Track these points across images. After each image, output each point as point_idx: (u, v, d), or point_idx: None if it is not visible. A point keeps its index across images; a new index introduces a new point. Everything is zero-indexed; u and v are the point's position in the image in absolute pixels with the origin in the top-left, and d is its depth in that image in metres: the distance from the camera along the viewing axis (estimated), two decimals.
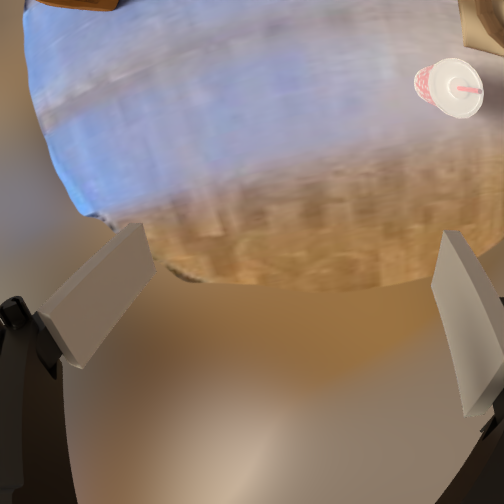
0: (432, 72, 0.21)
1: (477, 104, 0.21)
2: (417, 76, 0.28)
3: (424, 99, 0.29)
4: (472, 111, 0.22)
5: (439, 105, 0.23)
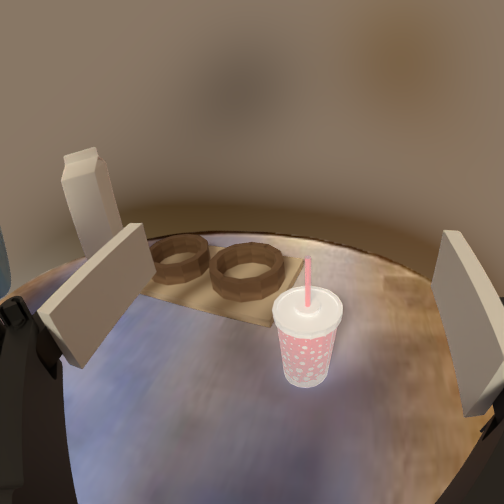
0: (284, 326, 0.25)
1: (328, 293, 0.28)
2: (291, 376, 0.29)
3: (320, 377, 0.28)
4: (335, 299, 0.27)
5: (324, 328, 0.24)
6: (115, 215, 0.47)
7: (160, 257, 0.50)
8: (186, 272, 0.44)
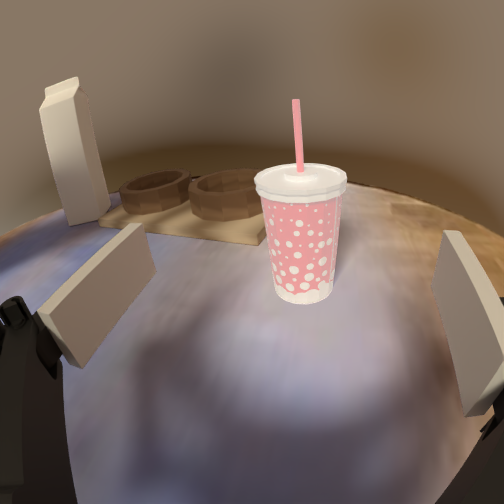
0: (269, 188, 0.18)
1: (326, 167, 0.21)
2: (283, 285, 0.22)
3: (323, 286, 0.22)
4: (336, 170, 0.20)
5: (324, 187, 0.18)
6: (93, 149, 0.41)
7: None
8: (163, 198, 0.38)
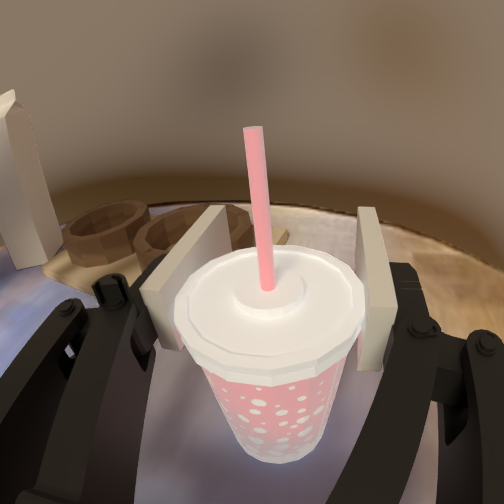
0: (192, 344, 0.08)
1: (325, 261, 0.11)
2: (243, 444, 0.12)
3: (307, 446, 0.12)
4: (344, 273, 0.10)
5: (314, 355, 0.07)
6: (36, 177, 0.31)
7: (89, 232, 0.34)
8: (108, 248, 0.28)
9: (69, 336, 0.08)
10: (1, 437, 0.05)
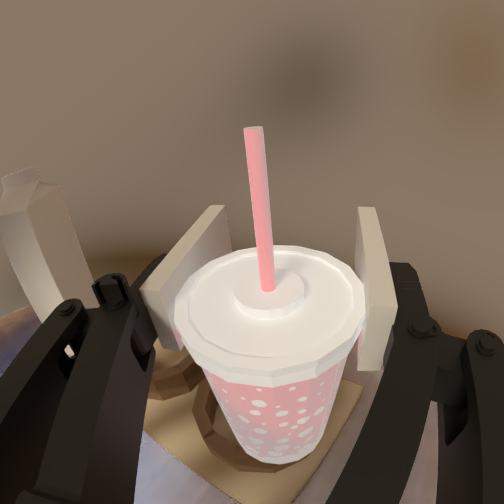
0: (192, 345, 0.08)
1: (325, 261, 0.11)
2: (243, 444, 0.12)
3: (307, 447, 0.12)
4: (345, 273, 0.10)
5: (314, 356, 0.07)
6: (76, 268, 0.29)
7: None
8: (162, 389, 0.24)
9: (69, 336, 0.08)
10: (1, 437, 0.05)
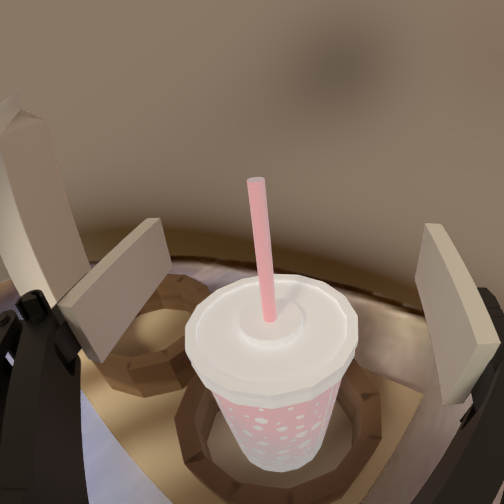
0: (202, 372, 0.09)
1: (323, 291, 0.12)
2: (247, 454, 0.13)
3: (306, 457, 0.13)
4: (340, 303, 0.11)
5: (309, 382, 0.08)
6: (57, 220, 0.23)
7: None
8: (142, 382, 0.17)
9: (8, 342, 0.08)
10: None
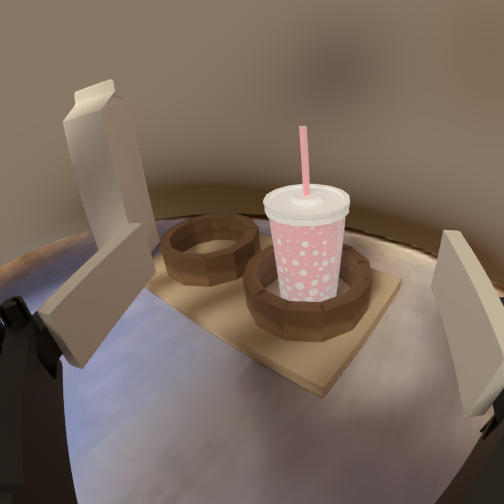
0: (277, 211, 0.20)
1: (331, 188, 0.23)
2: (290, 299, 0.24)
3: None
4: (340, 192, 0.22)
5: (329, 211, 0.19)
6: (135, 175, 0.34)
7: (190, 241, 0.36)
8: (211, 271, 0.28)
9: None
10: None
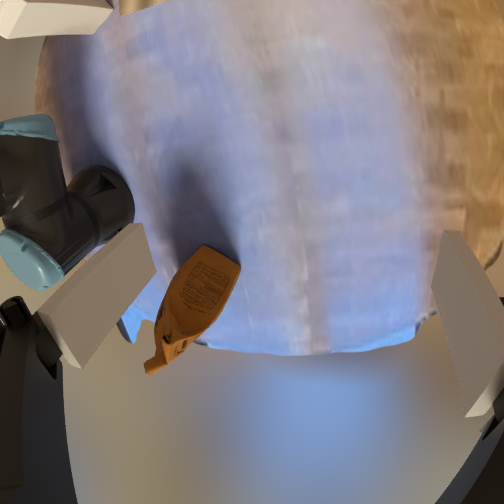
0: None
1: None
2: None
3: None
4: None
5: None
6: None
7: None
8: None
9: None
10: None
